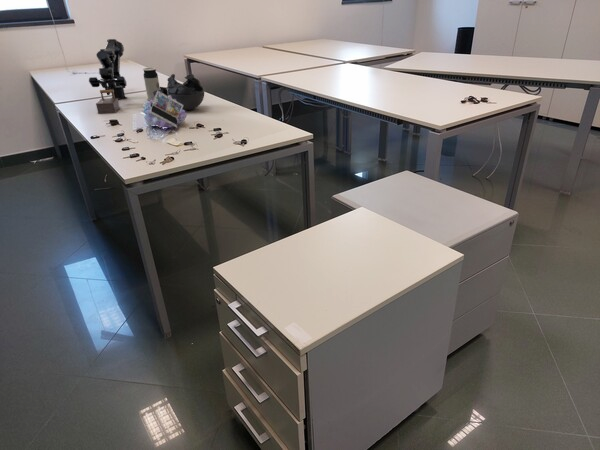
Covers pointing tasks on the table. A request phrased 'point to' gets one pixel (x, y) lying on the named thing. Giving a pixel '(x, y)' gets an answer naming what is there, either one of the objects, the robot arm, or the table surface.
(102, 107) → the key box
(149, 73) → the travel mug
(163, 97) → the crystal picture frame
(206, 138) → the table surface
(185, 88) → the bowl of black rocks
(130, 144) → the table surface
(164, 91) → the speaker
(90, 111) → the table surface
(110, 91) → the lid
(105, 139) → the table surface
